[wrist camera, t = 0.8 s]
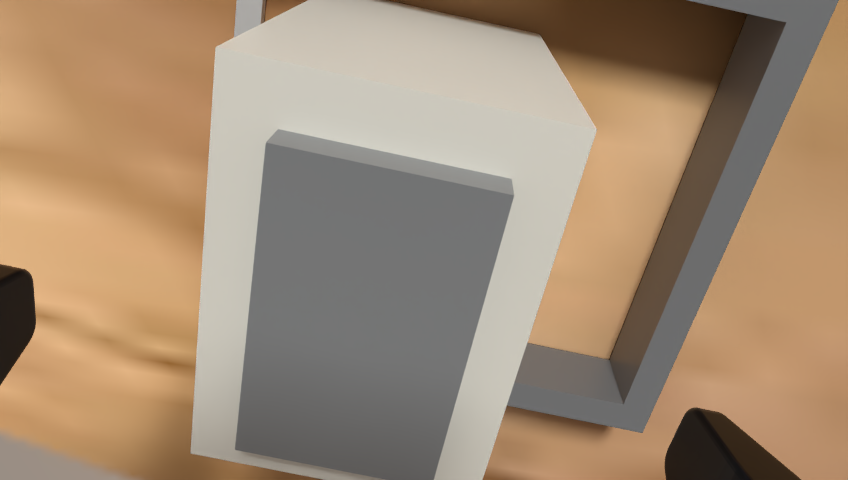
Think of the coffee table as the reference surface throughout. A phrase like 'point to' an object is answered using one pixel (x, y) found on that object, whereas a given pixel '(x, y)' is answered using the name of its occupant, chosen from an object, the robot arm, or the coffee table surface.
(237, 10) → the grey flat square frame
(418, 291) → the cream box grey panel
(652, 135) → the coffee table surface
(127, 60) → the coffee table surface
